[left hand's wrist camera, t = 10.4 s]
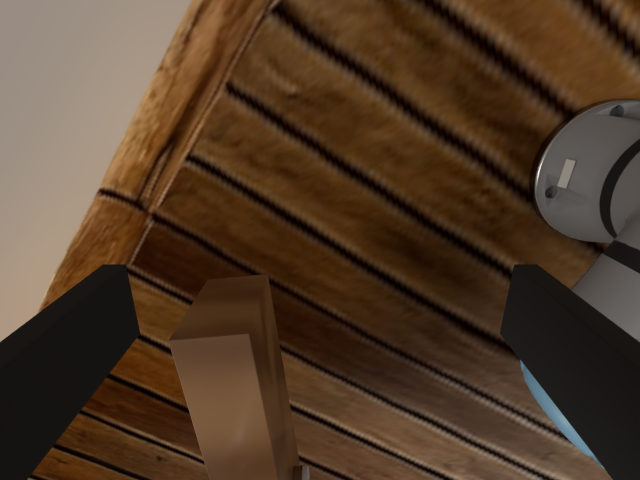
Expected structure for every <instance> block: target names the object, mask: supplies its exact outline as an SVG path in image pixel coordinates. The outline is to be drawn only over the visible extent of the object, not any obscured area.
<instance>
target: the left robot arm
mask: <svg viewBox="0 0 640 480" xmlns="http://www.w3.org/2000/svg"><path fill="white" fill-rule="evenodd" d="M530 196H531V200H532V204H533V206H534V209H535V211H536V213H537V214H538V216H539V217H540V218H541V219H542V221H543V222H545V223H546V224H547V225H548V226H549V227H551V228H552V229H554V230H556V231H558V232H560V233H561V234H563V235H566V236H568V237H571V238H574V239H578V240H583V241H591V242H603V243H611V244H610V245H609V246H608V247H607V249H606V250H605V251H604V252H603V253H602V254H601V255H600V256H599V257H598V258H597V260H596V261H595V262H594V263H593V264H592V265H591V267H590V268H589V269H588V270H587V271H586V273H585V274H584V275H583V276H582V277H581V278H580V280H579V281H578V282H577V283H576V284H575V285H574V287H573V288H572V289H571V290H570V289H569V288H567V287H566V286H565V285H563V284H562V283H561V282H559V281H558V280H557V279H555V278H554V277H553V276H551V275H550V274H549V273H547V272H546V271H545V270H543V269H542V268H541V267H539V266H538V265H514V268H513V273H512V278H511V283H510V288H509V292H508V297H507V302H506V307H505V312H504V316H503V321H502V326H501V331H500V334H501V335H502V337H503V338H504V339H505V341H506V342H507V343H508V344H509V346H510V347H511V348H512V350H513V351H514V352H515V354H516V355H517V356H518V357H519V359H520V363H521V369H522V372H523V376H524V379H525V381H526V384H527V385H528V387H529V389H530V391H531V393H532V394H533V396H534V398H535V399H536V401H537V402H538V404H539V405H540V406H541V408H542V409H543V410H544V412H545V413H546V414H547V416H548V417H549V418H550V419H551V420H552V422H553V423H554V424H555V425H556V426H557V427H558V428H559V430H560V431H561V432H562V433H563V434H564V435H565V436H566V437H567V438H568V439H569V440H570V441H571V442H572V443H573V444H574V445H575V446H576V447H577V448H578V449H579V450H580V451H582V452H583V453H584V454H585V455H587V456H592V457H593V458H594V460H595V461H596V462H597V463H598V465H599V466H601V467H602V468H604V469H605V470H606V471H607V472H608V474H609V475H610V476H611V478H612V479H613V480H640V100H633V99H621V100H607V101H602V102H598V103H595V104H592V105H589V106H587V107H585V108H583V109H581V110H579V111H577V112H575V113H574V114H572V115H571V116H569V117H568V118H567V119H565V120H564V121H563V122H562V123H560V124H559V125H558V126H557V127H556V128H555V129H554V130H553V131H552V133H551V134H550V135H549V136H548V137H547V139H546V140H545V142H544V143H543V145H542V146H541V148H540V150H539V152H538V154H537V156H536V158H535V161H534V163H533V167H532V170H531V175H530ZM139 334H140V331H139V326H138V321H137V316H136V312H135V307H134V302H133V297H132V292H131V288H130V283H129V278H128V273H127V268H126V265H102V266H101V267H99V268H98V269H97V270H95V271H94V272H93V273H91V274H90V275H89V276H87V277H86V278H85V279H83V280H82V281H81V282H79V283H78V284H77V285H75V286H74V287H73V288H71V289H70V290H69V291H67V292H66V293H65V294H63V295H62V296H61V297H59V298H58V299H57V300H55V301H54V302H53V303H51V304H50V305H49V306H48V307H46V308H45V309H44V310H42V311H41V312H40V313H38V314H37V315H36V316H34V317H33V318H32V319H30V320H29V321H28V322H26V323H25V324H24V325H22V326H21V327H20V328H18V329H17V330H16V331H14V332H13V333H12V334H10V335H9V336H8V337H6V338H5V339H4V340H2V341H1V342H0V480H27V479H28V478H29V476H30V475H31V474H32V472H33V471H34V470H35V469H36V467H37V466H38V465H39V463H40V462H41V461H42V459H43V458H44V457H45V456H46V454H47V453H48V452H49V450H50V449H51V448H52V447H53V445H54V444H55V443H56V441H57V440H58V439H59V438H60V436H61V435H62V434H63V432H64V431H65V430H66V428H67V427H68V426H69V425H70V423H71V422H72V421H73V419H74V418H75V417H76V416H77V414H78V413H79V412H80V410H81V409H82V408H83V407H84V405H85V404H86V403H87V401H88V400H89V399H90V397H91V396H92V395H93V394H94V392H95V391H96V390H97V388H98V387H99V386H100V385H101V383H102V382H103V381H104V379H105V378H106V377H107V375H108V374H109V373H110V372H111V370H112V369H113V368H114V366H115V365H116V364H117V363H118V361H119V360H120V359H121V357H122V356H123V355H124V354H125V352H126V351H127V350H128V348H129V347H130V346H131V344H132V343H133V342H134V341H135V339H136V338H137V337H138V335H139Z"/></svg>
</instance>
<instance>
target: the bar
mask: <svg viewBox="0 0 640 480" xmlns="http://www.w3.org/2000/svg"><path fill="white" fill-rule="evenodd" d="M169 344H170V348H171V351H172V354H173V358H174V361H175V365H176V368H177V371H178V375H179V378H180V382H181V385H182V388H183V392H184V395H185V398H186V402H187V405H188V409H189V412H190V415H191V419H192V422H193V425H194V429H195V432H196V436H197V439H198V442H199V446H200V449H201V452H202V456H203V459H204V463H205V466H206V469H207V473H208V476H209V480H293V468H294V466H300V463H299V457H298V451H297V445H296V439H295V433H294V428H293V422H292V416H291V410H290V404H289V398H288V392H287V386H286V380H285V374H284V368H283V362H282V356H281V350H280V345H279V339H278V333H277V327H276V321H275V315H274V309H273V303H272V297H271V291H270V285H269V279H268V275H267V274H265V275H254V276H243V277H232V278H221V279H210V280H207V282H206V283H205V285H204V286H203V288H202V289H201V291H200V293H199V294H198V296H197V297H196V299H195V300H194V302H193V303H192V305H191V307H190V308H189V310H188V311H187V313H186V314H185V316H184V318H183V319H182V321H181V322H180V324H179V325H178V327H177V328H176V330H175V332H174V333H173V335H172V336H171V338H170V339H169Z"/></svg>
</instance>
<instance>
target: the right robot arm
mask: <svg viewBox="0 0 640 480" xmlns="http://www.w3.org/2000/svg"><path fill="white" fill-rule="evenodd" d="M293 480H310V477H309V468H308V465H301V466H294V468H293Z"/></svg>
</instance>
